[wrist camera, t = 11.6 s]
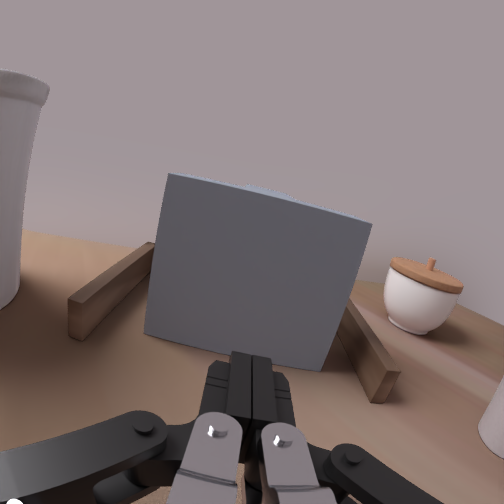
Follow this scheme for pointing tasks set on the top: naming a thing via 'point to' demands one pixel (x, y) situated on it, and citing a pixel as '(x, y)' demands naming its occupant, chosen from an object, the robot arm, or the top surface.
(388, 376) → the walnut bay
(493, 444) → the coffee cup
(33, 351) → the top surface
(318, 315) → the slate T block
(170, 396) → the top surface
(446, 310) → the lidded jar
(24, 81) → the utensil holder
